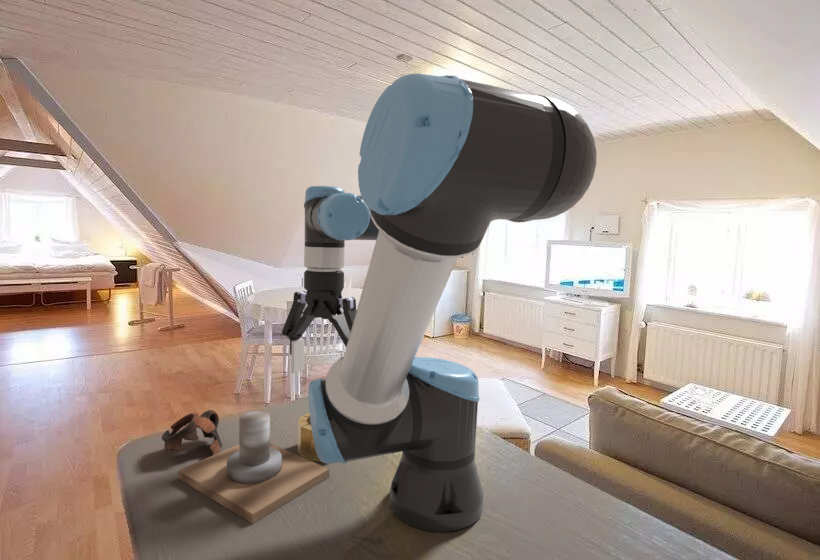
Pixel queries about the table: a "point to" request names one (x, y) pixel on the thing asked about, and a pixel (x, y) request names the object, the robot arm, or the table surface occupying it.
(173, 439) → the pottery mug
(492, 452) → the table surface
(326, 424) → the robot arm
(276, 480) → the stand
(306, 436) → the brass ring
